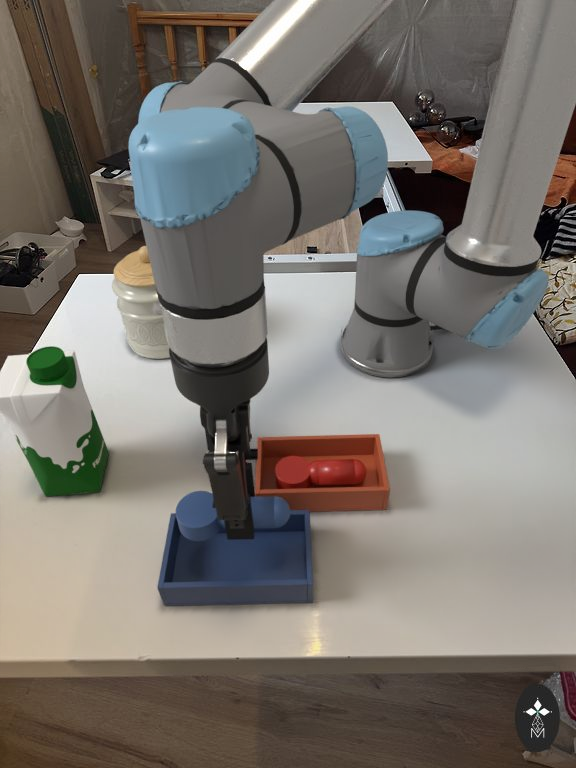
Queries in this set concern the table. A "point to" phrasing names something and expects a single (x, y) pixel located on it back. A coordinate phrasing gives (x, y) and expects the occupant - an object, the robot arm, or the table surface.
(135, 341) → the jar
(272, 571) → the bin blue
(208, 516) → the blue toy rattle
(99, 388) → the table surface
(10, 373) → the milk carton
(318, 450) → the bin red
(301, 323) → the table surface
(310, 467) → the red disc-headed bar
